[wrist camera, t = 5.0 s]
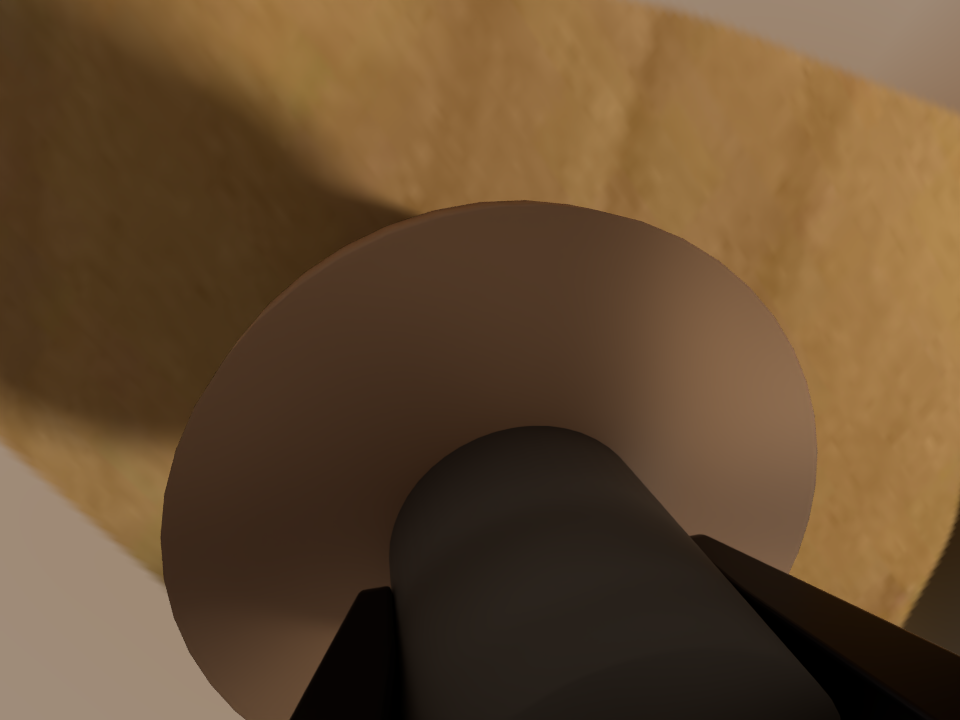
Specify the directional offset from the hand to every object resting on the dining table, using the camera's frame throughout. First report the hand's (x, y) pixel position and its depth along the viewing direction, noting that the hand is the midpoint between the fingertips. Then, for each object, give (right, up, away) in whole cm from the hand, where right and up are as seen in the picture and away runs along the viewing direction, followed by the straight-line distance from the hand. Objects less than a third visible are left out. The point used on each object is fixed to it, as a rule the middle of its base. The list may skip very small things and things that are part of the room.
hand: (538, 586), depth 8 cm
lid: (0, +1, +2) cm, 2 cm away
